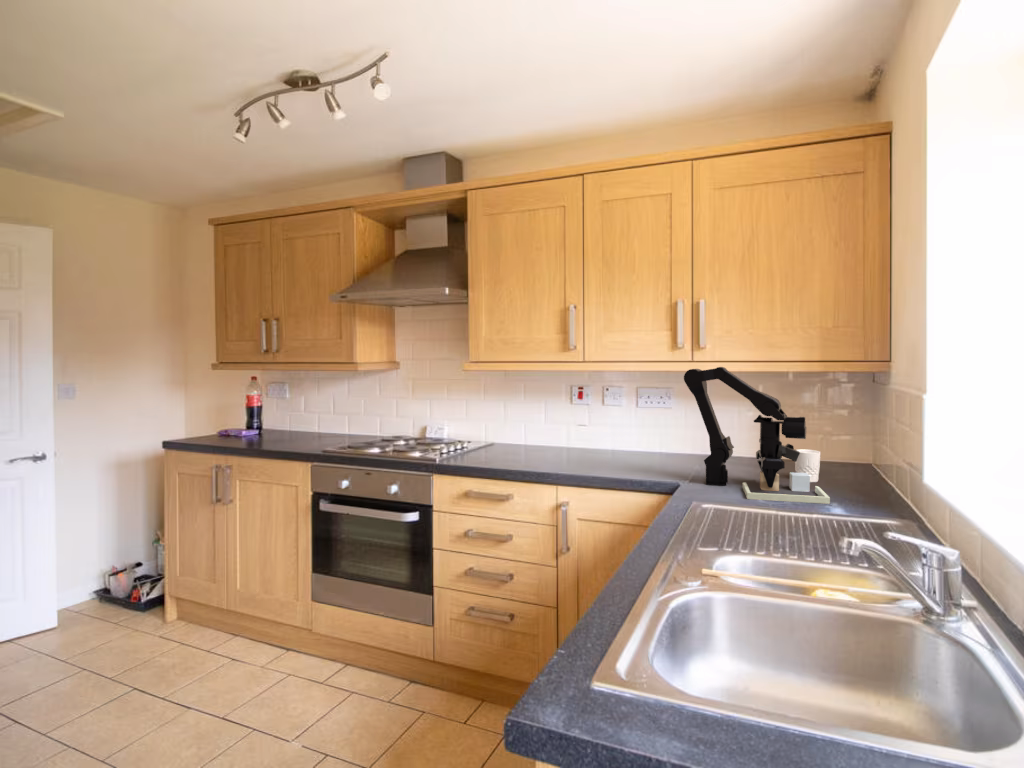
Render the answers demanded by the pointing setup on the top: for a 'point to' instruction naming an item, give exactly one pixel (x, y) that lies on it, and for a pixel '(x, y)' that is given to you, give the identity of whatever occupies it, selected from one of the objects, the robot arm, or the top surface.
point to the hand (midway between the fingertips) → (769, 485)
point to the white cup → (808, 463)
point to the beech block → (764, 484)
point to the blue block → (799, 482)
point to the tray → (789, 496)
